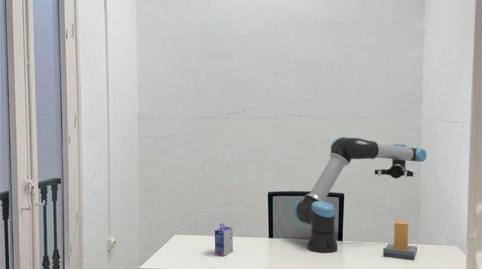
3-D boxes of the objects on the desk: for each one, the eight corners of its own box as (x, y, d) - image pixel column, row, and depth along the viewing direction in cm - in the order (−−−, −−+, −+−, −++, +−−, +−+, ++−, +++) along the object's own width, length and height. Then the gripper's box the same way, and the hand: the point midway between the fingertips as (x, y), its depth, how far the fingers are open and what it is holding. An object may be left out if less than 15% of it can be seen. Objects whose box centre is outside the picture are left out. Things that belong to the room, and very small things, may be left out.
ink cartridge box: (223, 250, 231) (223, 221, 231) (233, 251, 228) (233, 222, 228) (214, 255, 222) (214, 225, 222) (224, 256, 219) (224, 226, 219)
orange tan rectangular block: (394, 249, 230) (394, 223, 230) (395, 246, 236) (395, 220, 235) (406, 250, 228) (407, 224, 227) (407, 247, 233) (408, 222, 233)
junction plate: (383, 256, 224) (383, 242, 223) (388, 247, 242) (388, 233, 242) (413, 260, 218) (414, 245, 218) (416, 250, 236) (417, 236, 236)
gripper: (419, 179, 261) (416, 182, 242) (374, 176, 272) (367, 179, 252) (419, 165, 261) (416, 168, 242) (374, 163, 271) (368, 166, 252)
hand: (391, 174), depth 247 cm, fingers open, 13 cm apart
